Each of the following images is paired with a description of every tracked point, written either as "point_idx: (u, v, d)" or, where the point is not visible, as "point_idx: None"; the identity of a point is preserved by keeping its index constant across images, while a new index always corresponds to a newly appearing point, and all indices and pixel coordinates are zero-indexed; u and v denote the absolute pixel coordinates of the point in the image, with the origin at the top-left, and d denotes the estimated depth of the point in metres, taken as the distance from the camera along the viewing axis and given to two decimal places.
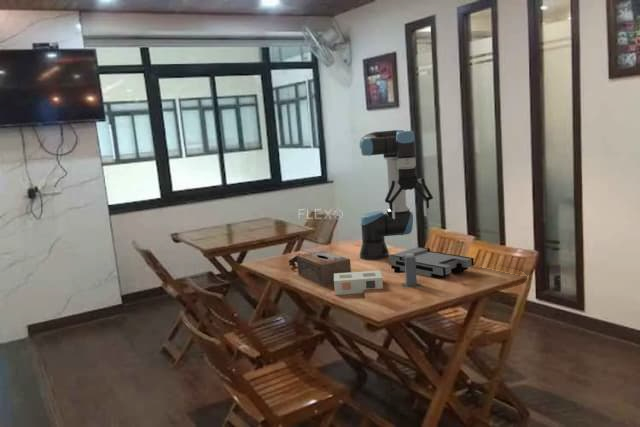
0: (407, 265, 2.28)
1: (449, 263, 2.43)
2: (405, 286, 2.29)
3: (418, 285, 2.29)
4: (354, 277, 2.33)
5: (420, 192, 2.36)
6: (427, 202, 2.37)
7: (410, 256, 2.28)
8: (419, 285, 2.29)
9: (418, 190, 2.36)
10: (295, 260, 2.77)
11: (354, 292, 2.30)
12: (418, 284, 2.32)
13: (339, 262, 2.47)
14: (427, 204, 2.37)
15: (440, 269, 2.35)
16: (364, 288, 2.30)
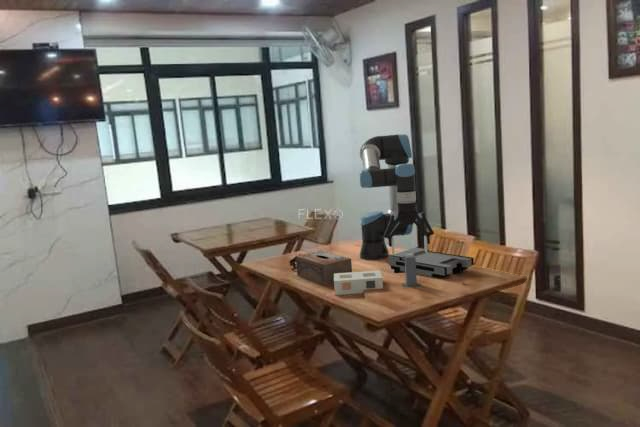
0: (407, 265, 2.28)
1: (450, 263, 2.43)
2: (405, 286, 2.29)
3: (418, 285, 2.29)
4: (354, 277, 2.33)
5: (420, 227, 2.26)
6: (428, 237, 2.27)
7: (410, 256, 2.28)
8: (419, 285, 2.29)
9: (418, 225, 2.26)
10: (295, 260, 2.76)
11: (354, 292, 2.30)
12: (418, 284, 2.32)
13: (341, 262, 2.48)
14: (428, 239, 2.27)
15: (441, 269, 2.35)
16: (364, 288, 2.30)
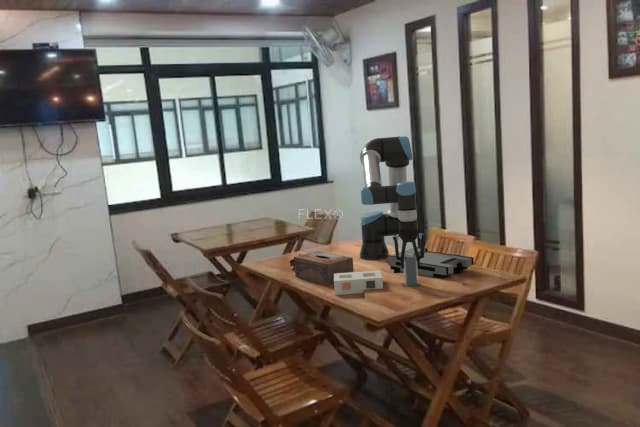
0: (407, 265, 2.28)
1: (450, 263, 2.43)
2: (405, 286, 2.29)
3: (418, 285, 2.29)
4: (354, 277, 2.33)
5: (415, 248, 2.28)
6: (418, 261, 2.29)
7: (410, 256, 2.28)
8: (419, 285, 2.29)
9: (414, 245, 2.27)
10: None
11: (354, 292, 2.30)
12: (418, 284, 2.32)
13: (343, 261, 2.49)
14: (418, 263, 2.29)
15: (443, 269, 2.35)
16: (364, 288, 2.30)
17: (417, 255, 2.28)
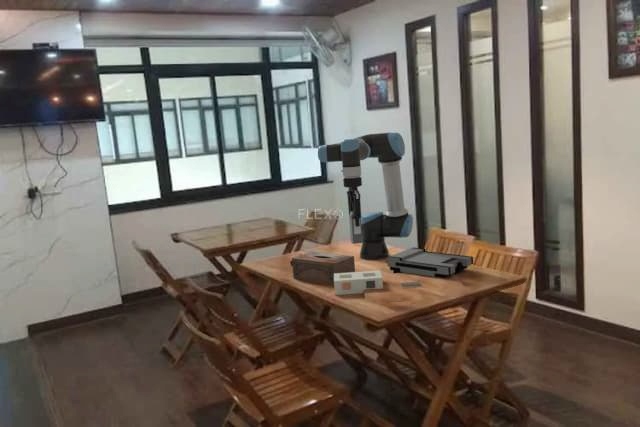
0: None
1: (451, 262, 2.44)
2: (405, 286, 2.29)
3: (418, 285, 2.29)
4: (354, 277, 2.33)
5: (352, 206, 2.27)
6: (355, 220, 2.27)
7: (351, 213, 2.30)
8: (419, 285, 2.29)
9: (352, 203, 2.27)
10: None
11: (354, 292, 2.30)
12: (418, 284, 2.32)
13: (346, 260, 2.51)
14: (355, 222, 2.27)
15: (445, 268, 2.35)
16: (364, 288, 2.30)
17: (353, 214, 2.27)
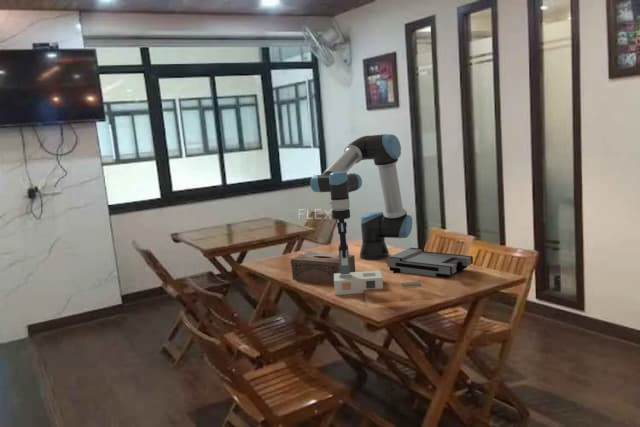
0: None
1: (451, 262, 2.44)
2: (405, 286, 2.29)
3: (418, 285, 2.29)
4: (354, 277, 2.33)
5: None
6: (342, 252, 2.30)
7: None
8: (419, 285, 2.29)
9: None
10: None
11: (354, 292, 2.30)
12: (418, 284, 2.32)
13: None
14: (342, 254, 2.31)
15: (447, 268, 2.35)
16: (364, 288, 2.30)
17: (340, 245, 2.30)
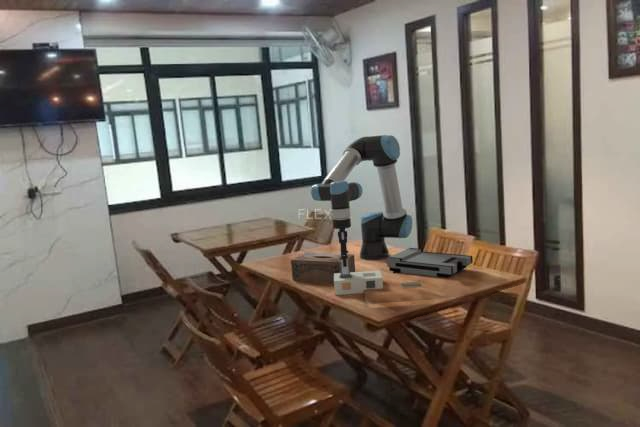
0: None
1: (452, 262, 2.44)
2: (405, 286, 2.29)
3: (418, 285, 2.29)
4: (354, 277, 2.33)
5: None
6: (342, 260, 2.29)
7: (340, 259, 2.34)
8: (419, 285, 2.29)
9: None
10: None
11: (354, 292, 2.30)
12: (418, 284, 2.32)
13: (349, 258, 2.54)
14: (343, 262, 2.29)
15: (448, 268, 2.36)
16: (364, 288, 2.30)
17: None
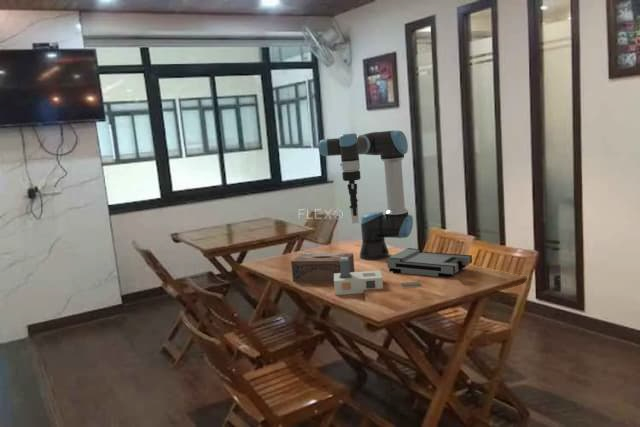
0: None
1: (452, 262, 2.45)
2: (405, 286, 2.29)
3: (418, 285, 2.29)
4: (354, 277, 2.33)
5: (350, 197, 2.31)
6: (352, 209, 2.29)
7: (340, 259, 2.34)
8: (419, 285, 2.29)
9: (350, 195, 2.32)
10: None
11: (354, 292, 2.30)
12: (418, 284, 2.32)
13: (350, 257, 2.56)
14: (353, 211, 2.29)
15: (450, 268, 2.36)
16: (364, 288, 2.30)
17: (351, 203, 2.30)
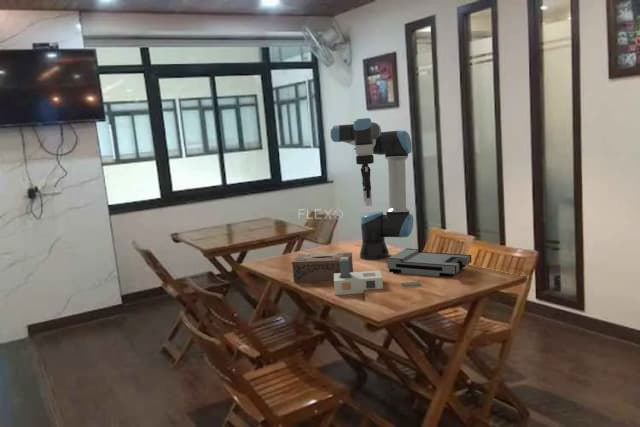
0: None
1: (453, 261, 2.45)
2: (405, 286, 2.29)
3: (418, 285, 2.29)
4: (354, 277, 2.33)
5: None
6: (366, 192, 2.34)
7: (340, 259, 2.34)
8: (419, 285, 2.29)
9: (363, 178, 2.37)
10: None
11: (354, 292, 2.30)
12: (418, 284, 2.32)
13: (350, 256, 2.58)
14: (366, 194, 2.34)
15: (451, 267, 2.36)
16: (364, 288, 2.30)
17: (364, 186, 2.35)
